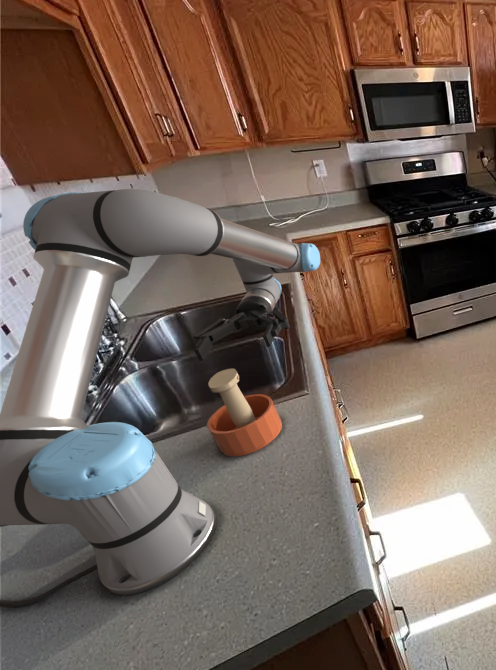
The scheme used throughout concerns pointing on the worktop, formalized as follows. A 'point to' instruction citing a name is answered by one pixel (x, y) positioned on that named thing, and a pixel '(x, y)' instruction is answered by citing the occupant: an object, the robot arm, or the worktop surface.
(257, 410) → the crock
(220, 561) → the worktop surface
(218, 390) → the handle
